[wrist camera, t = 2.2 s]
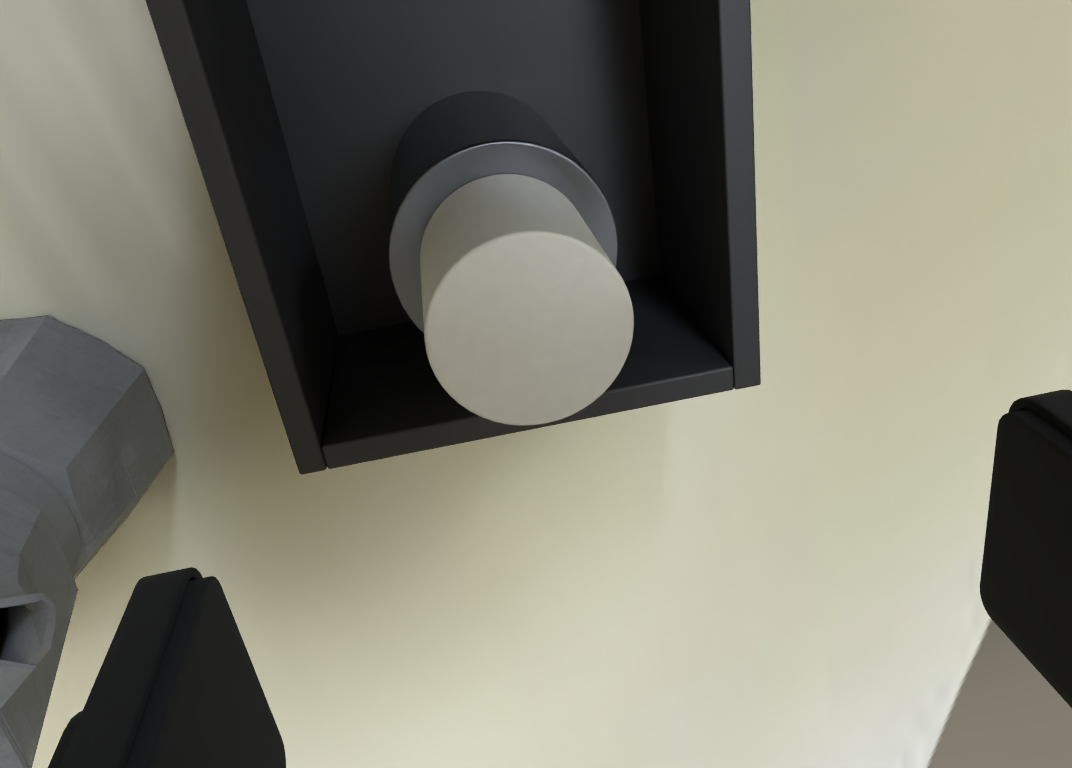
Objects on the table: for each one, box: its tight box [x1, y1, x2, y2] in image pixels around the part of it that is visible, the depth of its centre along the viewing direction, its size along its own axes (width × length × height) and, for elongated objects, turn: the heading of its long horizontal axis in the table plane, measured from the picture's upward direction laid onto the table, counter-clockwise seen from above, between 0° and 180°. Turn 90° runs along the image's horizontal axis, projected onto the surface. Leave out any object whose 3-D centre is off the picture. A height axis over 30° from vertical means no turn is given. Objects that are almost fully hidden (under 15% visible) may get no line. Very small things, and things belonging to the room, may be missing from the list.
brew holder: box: [388, 91, 619, 333], centre depth 26 cm, size 6×6×9 cm
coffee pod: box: [420, 174, 634, 426], centre depth 20 cm, size 4×4×5 cm
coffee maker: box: [146, 0, 761, 474], centre depth 25 cm, size 18×14×9 cm
